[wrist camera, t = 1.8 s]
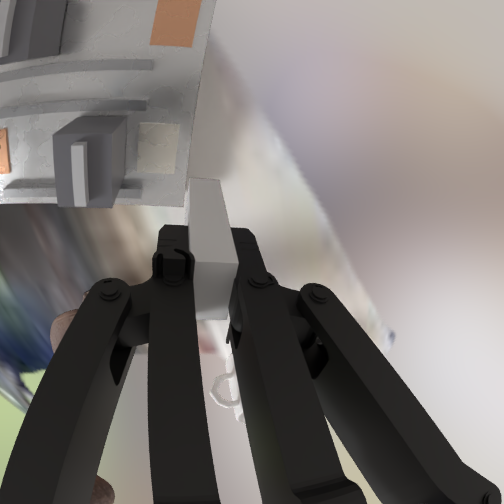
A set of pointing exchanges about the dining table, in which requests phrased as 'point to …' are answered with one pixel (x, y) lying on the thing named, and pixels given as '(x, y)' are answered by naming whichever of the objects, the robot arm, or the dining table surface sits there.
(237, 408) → the mug
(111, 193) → the block
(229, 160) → the dining table surface
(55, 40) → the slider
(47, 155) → the switch unit
